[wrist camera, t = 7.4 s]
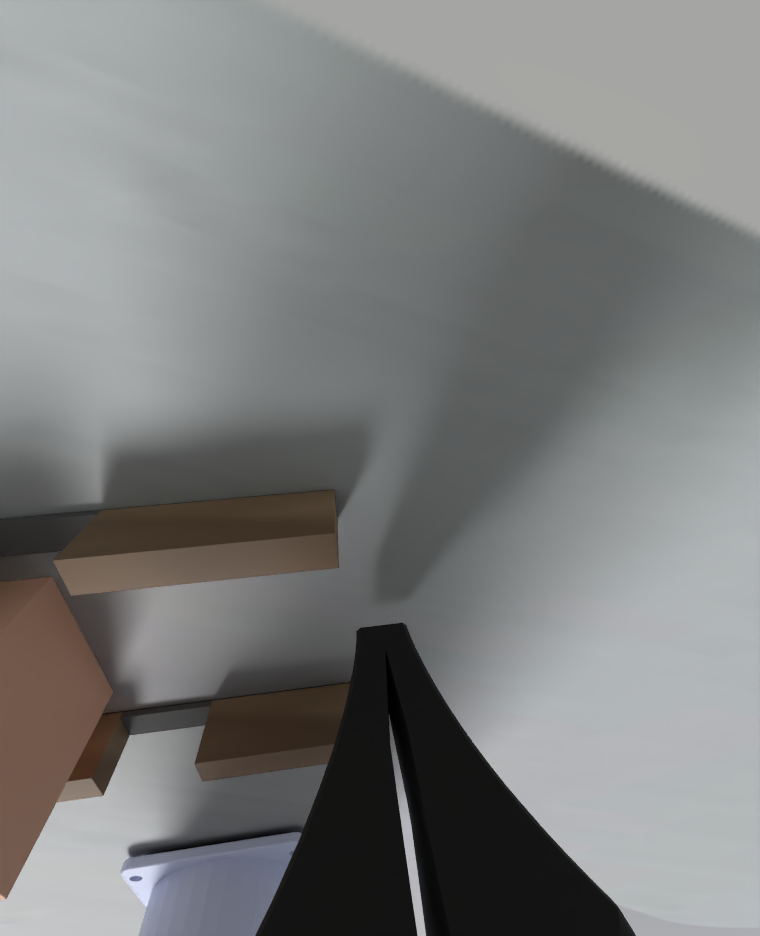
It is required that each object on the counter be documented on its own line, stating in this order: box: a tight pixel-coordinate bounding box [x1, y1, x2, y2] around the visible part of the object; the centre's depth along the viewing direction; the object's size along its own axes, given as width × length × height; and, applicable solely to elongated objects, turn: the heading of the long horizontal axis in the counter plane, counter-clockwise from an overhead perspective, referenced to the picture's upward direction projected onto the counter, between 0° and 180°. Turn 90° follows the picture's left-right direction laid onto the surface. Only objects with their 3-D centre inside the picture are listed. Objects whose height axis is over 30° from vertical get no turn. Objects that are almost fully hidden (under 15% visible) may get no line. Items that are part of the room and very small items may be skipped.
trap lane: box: [0, 490, 350, 802], centre depth 11 cm, size 9×14×3 cm, turn 92°
